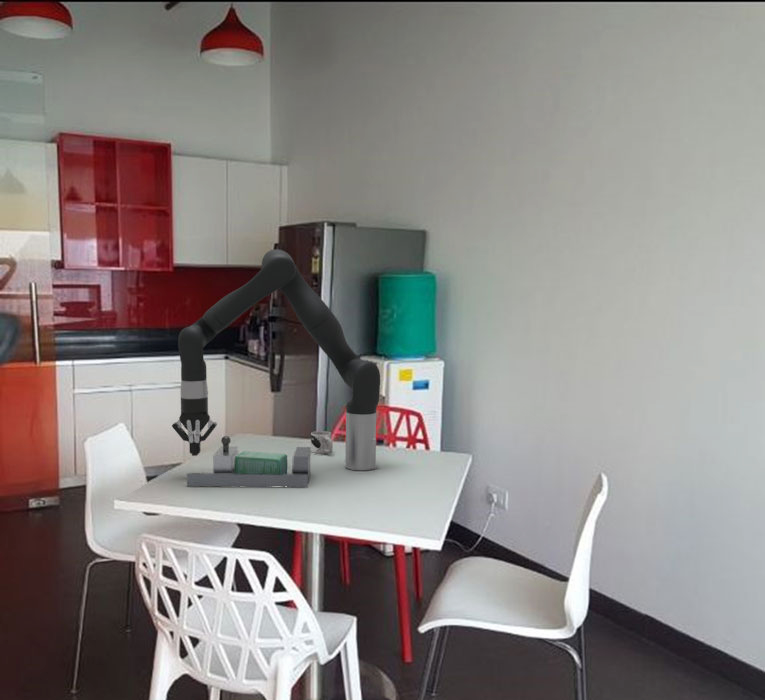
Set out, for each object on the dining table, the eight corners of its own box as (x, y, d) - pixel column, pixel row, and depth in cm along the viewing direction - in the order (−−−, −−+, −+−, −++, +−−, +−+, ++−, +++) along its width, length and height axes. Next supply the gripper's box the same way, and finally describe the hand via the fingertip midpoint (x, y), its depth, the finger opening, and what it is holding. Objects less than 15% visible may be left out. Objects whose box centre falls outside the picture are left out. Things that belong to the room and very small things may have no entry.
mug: (307, 451, 245) (307, 432, 244) (323, 449, 248) (324, 430, 248) (322, 457, 237) (323, 437, 236) (339, 455, 241) (340, 435, 240)
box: (280, 484, 204) (280, 458, 204) (234, 481, 206) (234, 455, 206) (287, 478, 212) (288, 452, 211) (243, 475, 214) (243, 450, 213)
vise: (310, 473, 217) (310, 447, 216) (307, 487, 202) (307, 459, 201) (198, 472, 215) (198, 446, 214) (186, 486, 200) (186, 458, 199)
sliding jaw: (239, 473, 215) (239, 432, 214) (233, 483, 204) (233, 440, 203) (220, 473, 215) (220, 432, 214) (213, 483, 204) (213, 440, 202)
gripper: (167, 397, 204) (168, 458, 206) (215, 397, 205) (216, 458, 206) (173, 393, 212) (175, 452, 213) (219, 393, 212) (220, 451, 214)
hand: (195, 454), depth 210 cm, fingers closed
